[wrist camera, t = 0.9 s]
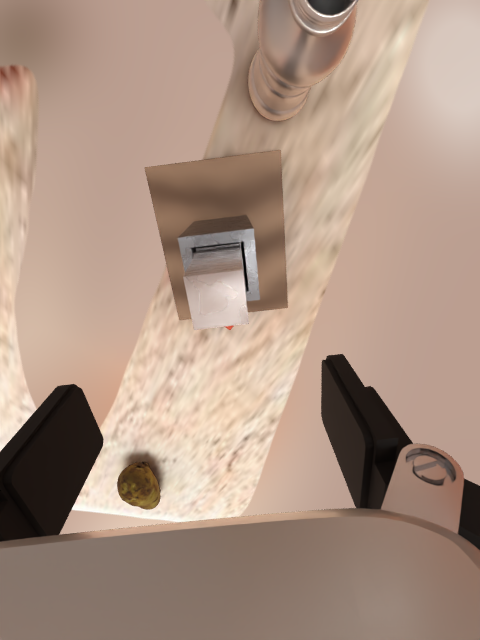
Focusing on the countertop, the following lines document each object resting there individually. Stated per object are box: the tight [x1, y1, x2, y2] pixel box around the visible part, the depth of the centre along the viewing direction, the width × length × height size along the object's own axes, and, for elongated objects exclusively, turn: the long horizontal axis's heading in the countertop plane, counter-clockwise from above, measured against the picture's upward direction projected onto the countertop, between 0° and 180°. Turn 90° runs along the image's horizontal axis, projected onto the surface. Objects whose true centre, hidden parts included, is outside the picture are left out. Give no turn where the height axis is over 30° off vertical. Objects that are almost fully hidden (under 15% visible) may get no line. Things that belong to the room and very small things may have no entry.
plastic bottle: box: [248, 0, 358, 121], centre depth 23 cm, size 6×7×20 cm
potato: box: [117, 462, 161, 509], centre depth 55 cm, size 8×13×8 cm, turn 165°
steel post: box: [183, 242, 249, 330], centre depth 29 cm, size 4×4×20 cm
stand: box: [145, 150, 288, 330], centre depth 33 cm, size 20×16×14 cm
